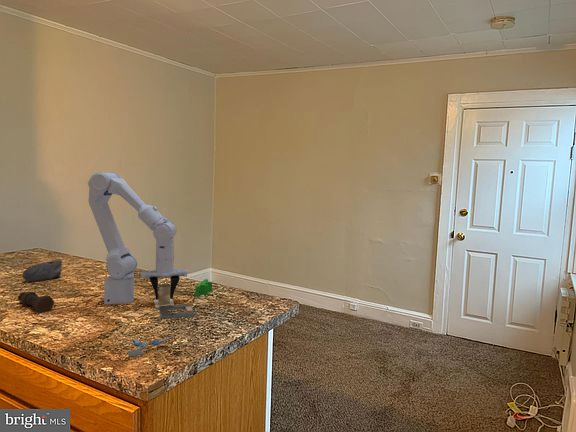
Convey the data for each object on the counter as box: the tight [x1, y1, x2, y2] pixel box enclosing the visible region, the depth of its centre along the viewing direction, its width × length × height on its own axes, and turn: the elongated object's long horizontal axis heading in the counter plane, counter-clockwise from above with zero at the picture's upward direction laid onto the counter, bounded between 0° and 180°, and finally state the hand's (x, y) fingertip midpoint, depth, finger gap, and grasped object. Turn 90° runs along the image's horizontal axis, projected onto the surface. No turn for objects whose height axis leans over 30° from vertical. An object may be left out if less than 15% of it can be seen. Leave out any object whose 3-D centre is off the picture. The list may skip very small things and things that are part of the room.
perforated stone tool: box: [22, 259, 63, 282], centre depth 165 cm, size 15×5×7 cm, turn 142°
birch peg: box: [158, 283, 171, 305], centre depth 141 cm, size 4×4×6 cm
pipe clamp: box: [194, 278, 213, 298], centre depth 155 cm, size 11×4×5 cm, turn 173°
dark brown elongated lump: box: [17, 290, 55, 314], centre depth 134 cm, size 6×5×15 cm
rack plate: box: [158, 303, 196, 320], centre depth 133 cm, size 10×10×2 cm
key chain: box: [126, 336, 172, 357], centre depth 109 cm, size 14×8×1 cm, turn 159°
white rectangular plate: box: [153, 298, 175, 309], centre depth 141 cm, size 6×8×1 cm
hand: (164, 298), depth 141 cm, fingers open, 4 cm apart
